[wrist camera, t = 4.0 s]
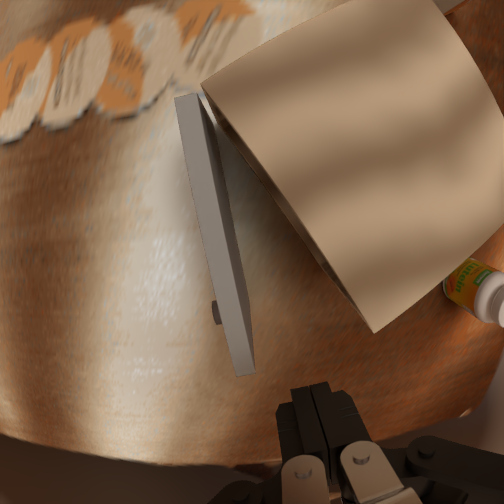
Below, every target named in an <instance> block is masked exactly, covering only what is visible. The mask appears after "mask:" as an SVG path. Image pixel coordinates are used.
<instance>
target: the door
mask: <svg viewBox="0 0 504 504" xmlns="http://www.w3.org/2000/svg"><path fill="white" fill-rule="evenodd" d="M174 100H175V106H176V112H177V117H178V123H179V128H180V134H181V139H182V144H183V149H184V154H185V160H186V165H187V170H188V175H189V180H190V184H191V189H192V194H193V199H194V204H195V208H196V213H197V218H198V222H199V227H200V231H201V236H202V240H203V245H204V249H205V254H206V258H207V262H208V267H209V271H210V275H211V279H212V283H213V288H214V292H215V296H216V300H215V301H212V312H213V317H214V320H215V323H216V325H218V324H223V328H224V332H225V336H226V340H227V344H228V347H229V351H230V355H231V359H232V363H233V366H234V370H235V374H236V377H239V376H245V375H251V374H256V373H255V362H254V350H253V339H252V327H251V316H250V304H249V297H248V292H247V288H246V283H245V278H244V273H243V268H242V264H241V259H240V254H239V249H238V244H237V239H236V234H235V229H234V225H233V220H232V215H231V210H230V205H229V200H228V195H227V190H226V185H225V180H224V175H223V170H222V165H221V159H220V154H219V149H218V144H217V139H216V134H215V129H214V125H213V123H212V121H211V119H210V117H209V115H208V113H207V111H206V109H205V107H204V106H203V104H202V102H201V100H200V98H199V96H198V94H197V93H193V94H189V95H184V96H180V97H176V98H174Z"/></svg>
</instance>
